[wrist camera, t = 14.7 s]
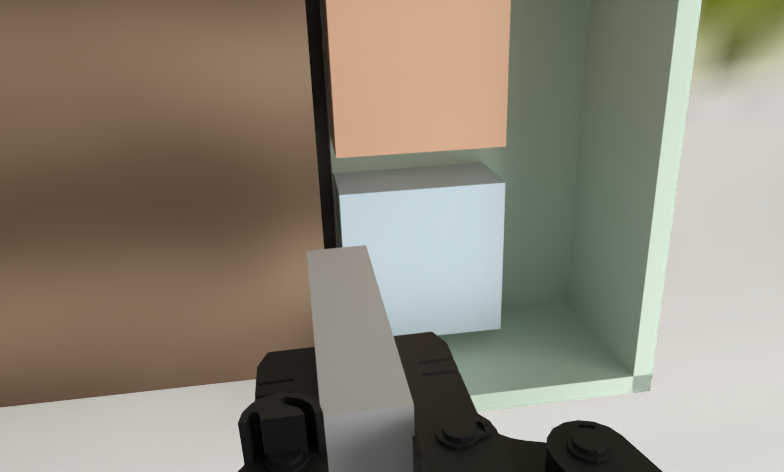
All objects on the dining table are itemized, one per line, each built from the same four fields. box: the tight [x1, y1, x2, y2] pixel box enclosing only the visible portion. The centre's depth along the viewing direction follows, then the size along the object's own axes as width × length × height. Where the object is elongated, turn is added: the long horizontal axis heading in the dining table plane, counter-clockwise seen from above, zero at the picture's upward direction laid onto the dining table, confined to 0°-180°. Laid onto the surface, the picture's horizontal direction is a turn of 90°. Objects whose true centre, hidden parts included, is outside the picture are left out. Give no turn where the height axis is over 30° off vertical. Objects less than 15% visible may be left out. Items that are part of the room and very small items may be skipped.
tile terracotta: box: [322, 0, 511, 158], centre depth 19 cm, size 5×5×2 cm
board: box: [0, 0, 324, 407], centre depth 19 cm, size 13×14×3 cm
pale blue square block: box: [334, 163, 505, 336], centre depth 21 cm, size 5×5×2 cm
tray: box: [319, 0, 702, 412], centre depth 19 cm, size 14×9×6 cm, turn 2°
